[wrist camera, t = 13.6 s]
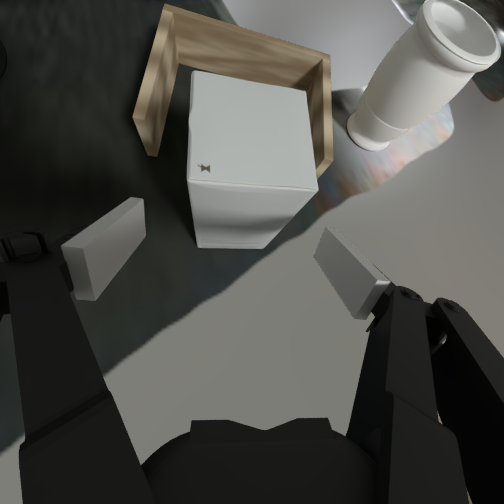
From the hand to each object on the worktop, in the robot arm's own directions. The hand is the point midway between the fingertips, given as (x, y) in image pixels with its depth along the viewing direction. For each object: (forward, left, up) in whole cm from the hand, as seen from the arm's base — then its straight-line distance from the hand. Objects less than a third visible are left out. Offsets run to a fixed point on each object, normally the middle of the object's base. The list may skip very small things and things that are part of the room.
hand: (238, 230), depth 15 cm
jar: (+6, +34, -12) cm, 37 cm away
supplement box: (-3, +6, -12) cm, 14 cm away
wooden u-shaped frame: (-12, +20, -12) cm, 26 cm away
